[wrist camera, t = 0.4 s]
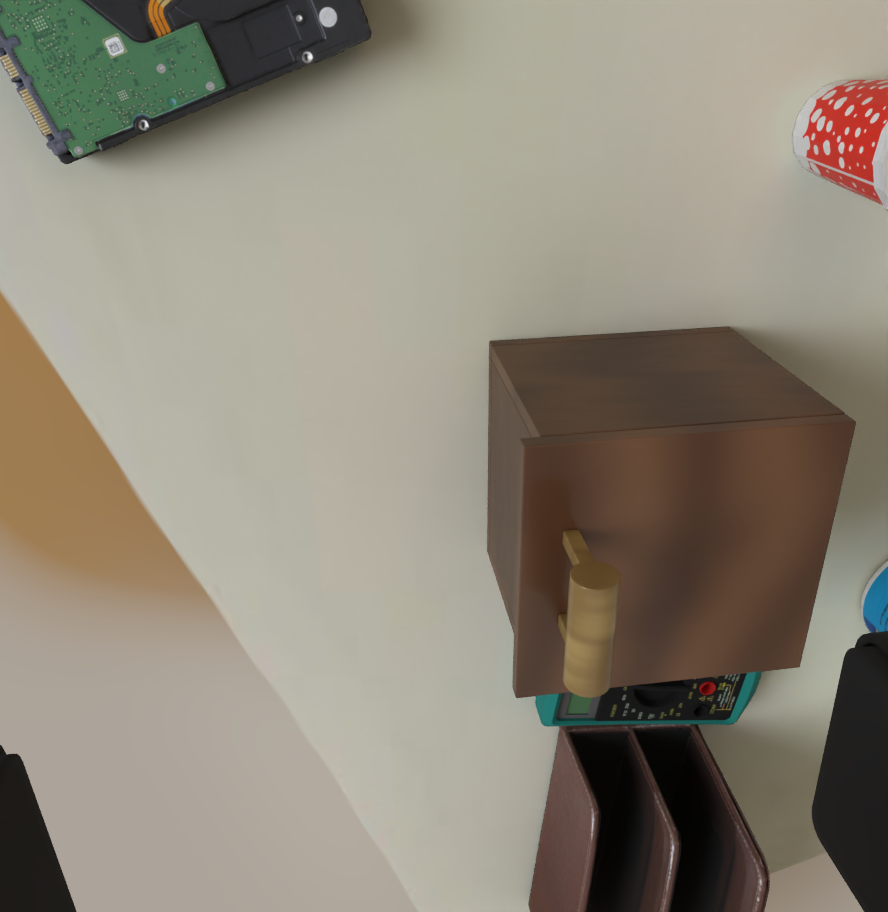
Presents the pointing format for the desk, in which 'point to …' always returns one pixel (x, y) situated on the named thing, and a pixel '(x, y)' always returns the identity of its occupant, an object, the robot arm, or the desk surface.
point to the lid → (671, 551)
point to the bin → (620, 402)
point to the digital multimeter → (655, 703)
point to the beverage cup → (847, 136)
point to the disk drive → (156, 58)
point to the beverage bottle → (876, 601)
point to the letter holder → (643, 827)
